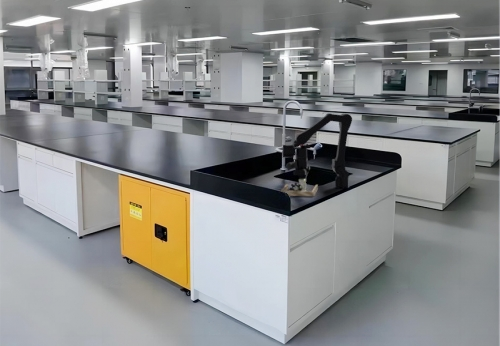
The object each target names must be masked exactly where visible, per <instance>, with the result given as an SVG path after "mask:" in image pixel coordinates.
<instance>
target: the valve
mask: <svg viewBox="0 0 500 346" xmlns="http://www.w3.org/2000/svg"><path fill="white" fill-rule="evenodd" d="M306 182H307V178H306V179H299V178H298V183H297V182H294V183H291V184H290V186H291V187H289V190H291V191H307V183H306Z"/></svg>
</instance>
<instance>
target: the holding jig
mask: <svg viewBox="0 0 500 346" xmlns="http://www.w3.org/2000/svg"><path fill="white" fill-rule="evenodd" d="M318 185H319V184H315V185H314V187H313V189H312V190H306V191H299V190H298V191H295V190H294V191H292V190H290V189H289V183H286V184H285V185H284V186H283V187H282V188H281V189H280V191H283V192H285V193H287V194H288V195H289V196H290V197H315V195H316V194H317V191H318V189H319V186H318ZM280 191H279V192H280Z"/></svg>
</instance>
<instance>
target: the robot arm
mask: <svg viewBox="0 0 500 346" xmlns="http://www.w3.org/2000/svg"><path fill="white" fill-rule="evenodd" d="M331 122H335V123H338V125H339V126H338V127H339V135H338V142H337V147H336V148H337V149H336V157H335V158H332V159H331V162H332V163H331V167H332V170H333V172H335V174H336V177H335V178H334V179H335V181H334V185H335V188H336V189H349V188H350V184H349V178H350V172H349V171H348V170H347V169H346V161H345V159H346V158H345V153H346V148H347V147H346V146H347V142H348V141H347V139H348V132H349V130H350V127H351V125H352V122H353V117H352V116H351V114H348V113H341V114H334V113H329V112H328V113H326V114H325V116H323V117H322V118H320V119H319V120H318V121H317V122H315V123H314V124H313V125H311V126H310V127H309V128H307V129H305V130H303V131H300V132H299V133H297V134H296V135H295V139H294V141H293V143H292V144H282V150H281V151H282V152H281V153H282V158H283V159H284V158H285V159H286V158H294V156H295V157H296V158H295V161H292V162H288V163H286V165H285V169H287V171H288V172H289V171H291V170H293V169H294V171H293V176H298V180H299V179H306V180H307V176H308V174H309V171H310V170H311V166H310V164H308V159H309V158H308V149H311V148H312V147H311V146H310V145H309V144H308V143H307V142H309V140H310V139H311V138H312V137H313V136H314V135H315V134H316V133H317V132H318V131H320V130H321V129H323V127H326V125H327V124H329V123H331Z"/></svg>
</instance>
